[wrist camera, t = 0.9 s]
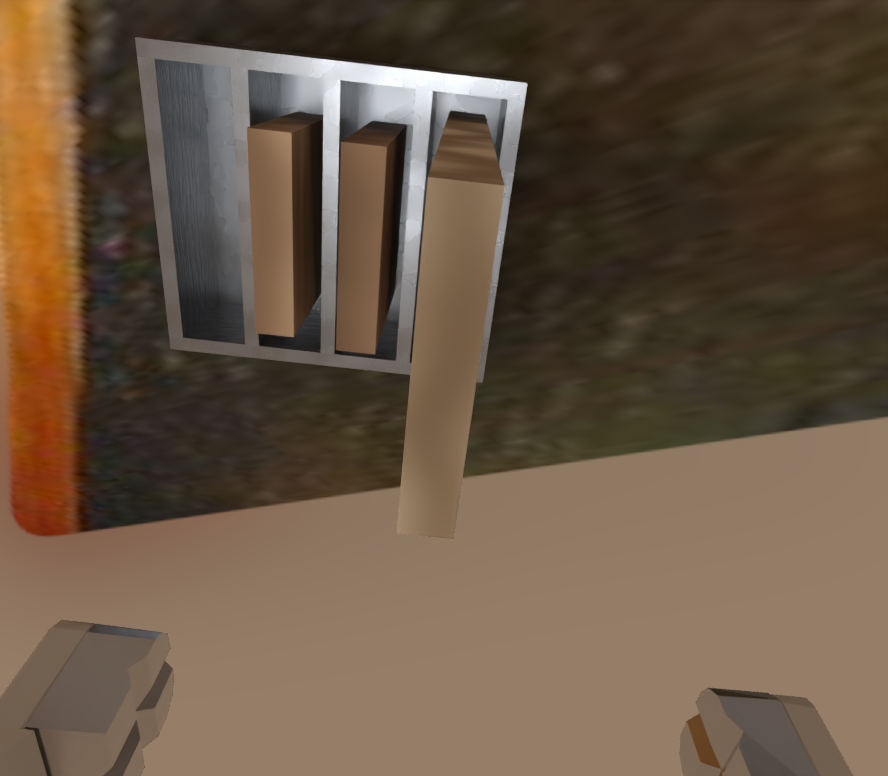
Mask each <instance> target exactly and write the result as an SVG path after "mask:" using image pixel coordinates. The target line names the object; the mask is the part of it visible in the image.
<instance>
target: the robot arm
mask: <svg viewBox="0 0 888 776" xmlns="http://www.w3.org/2000/svg"><path fill="white" fill-rule="evenodd" d="M169 651H170V642H169V636H168V633H162V632H154V631H147V630H140V629H131V628H124V627H116V626H109V625H101V624H94V623H85V622H76V621H67V620H61V621H59V622H58V623H57V624H56V625H54V626H53V627H52V628H51V629H49V630H48V632H47V633H46V635H45V636H44V637H43V639H42V640H41V641H40V643H39V644H38V646H37V647H36V648H35V650H34V651H33V652H32V654H31V655H30V657H29V658H28V659H27V661H26V662H25V664H24V665H23V667H22V668H21V669H20V671H19V672H18V673H17V675H16V676H15V678H14V679H13V680H12V682H11V683H10V684H9V686H8V687H7V689H6V690H5V691H4V693H3V694H2V695H1V697H0V776H141V774H142V772H143V770H144V768H145V765H144V758H143V751H142V749H143V748H144V747H145V746H147V745H148V744H149V743H150V742H152V741H153V740H154V739H155V738H157V737H158V736H159V734H160V731H161V729H162V726H163V724H164V722H165V720H166V717H167V714H168V710H169V707H170V703H171V699H172V695H173V686H174V674H173V668H172V667H170V666H169V664H168V663H167V662H165V659H166V657H167V655H168V653H169ZM696 704H697V707H698V710H699V714H698V715H696V716H694V717H693V718H691V719H689V720H688V721H686V724H685V726H684V729H683V731H682V733H681V738H680V759H681V766H682V771H683V775H684V776H853V774H852V773H851V771H850V769H849V767H848V765H847V764H846V762H845V760H844V758H843V756H842V754H841V753H840V751H839V749H838V747H837V745H836V744H835V742H834V740H833V738H832V737H831V735H830V733H829V731H828V729H827V728H826V726H825V724H824V722H823V720H822V719H821V717H820V715H819V713H818V711H817V710H816V708H815V706H814V705H813V704H812V703H811V702H810V701H809V700H808V699H807V698H802V697H794V696H783V695H770V694H769V693H761V692H750V691H739V690H726V689H715V688H707V689H705V690H704V691H702V692H701V693H700V695H699V697H698V699H697V701H696Z"/></svg>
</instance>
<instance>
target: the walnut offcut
mask: <svg viewBox="0 0 888 776" xmlns="http://www.w3.org/2000/svg"><path fill="white" fill-rule="evenodd" d="M406 131H407V125H406V124H398V123H389V122H380V121H371V122H369V123H368V124H367V125H365V126H364V127H362V128H361V129H359V130H358V131H356V132H355V133H353V134H352V135H350V136H349V137H347V138H346V139H344V140H343V141H341V160H340V202H339V245H338V287H337V330H336V350H339V351H348V352H357V353H366V354H375V353H376V350H377V347H378V344H379V340H380V337H381V334H382V331H383V328H384V325H385V321H386V318H387V315H388V312H389V309H390V305H391V302H392V299H393V296H394V293H395V289H396V275H397V260H398V246H399V231H400V217H401V203H402V188H403V174H404V160H405V145H406Z"/></svg>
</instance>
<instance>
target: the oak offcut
mask: <svg viewBox="0 0 888 776" xmlns="http://www.w3.org/2000/svg"><path fill="white" fill-rule="evenodd" d="M247 144H248V167H249V191H250V214H251V237H252V260H253V284H254V307H255V330H256V333H259V334H268V335H277V336H287V337H294V336H295V335H296V333H297V331H298V330H299V328H300V327H301V325H302V323H303V322H304V320H305V319H306V317H307V315H308V314H309V312H310V310H311V309H312V307H313V306H314V304H315V302H316V301H317V299H318V298H319V296H320V294H321V280H322V187H323V115H320V114H311V113H302V112H294V113H291V114H288V115H285V116H282V117H278V118H275V119H272V120H269V121H266V122H263V123H260V124H257V125H254V126H251V127H248V128H247Z"/></svg>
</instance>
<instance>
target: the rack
mask: <svg viewBox="0 0 888 776" xmlns="http://www.w3.org/2000/svg"><path fill="white" fill-rule="evenodd" d="M135 41H136V50H137V58H138V67H139V76H140V85H141V93H142V102H143V111H144V120H145V128H146V137H147V146H148V155H149V163H150V172H151V181H152V190H153V198H154V207H155V216H156V225H157V233H158V242H159V251H160V259H161V268H162V277H163V286H164V294H165V303H166V312H167V321H168V329H169V338H170V347H171V349H177V350H186V351H195V352H204V353H214V354H223V355H232V356H241V357H251V358H260V359H269V360H278V361H288V362H297V363H306V364H315V365H325V366H334V367H343V368H352V369H362V370H371V371H380V372H389V373H399V374H408V375H411V363H412V352H413V340H414V329H415V318H416V306H417V295H418V283H419V272H420V260H421V249H422V238H423V226H424V215H425V203H426V192H427V181H428V175H429V172H430V169H431V166H432V163H433V160H434V157H435V154H436V151H437V148H438V145H439V142H440V139H441V136H442V133H443V130H444V127H445V125H446V122H447V119H448V116H449V113H450V111H459V112H468V113H476V114H485V116H486V120H487V123H488V127H489V130H490V134H491V138H492V141H493V145H494V149H495V152H496V156H497V159H498V163H499V167H500V170H501V174H502V178H503V181H504V185H505V187H504V194H503V201H502V208H501V215H500V222H499V229H498V236H497V243H496V250H495V257H494V263H493V270H492V277H491V284H490V291H489V298H488V305H487V312H486V319H485V326H484V333H483V340H482V346H481V353H480V360H479V367H478V374H477V381H476V382H482V383H483V377H484V370H485V363H486V357H487V350H488V343H489V337H490V330H491V323H492V317H493V310H494V303H495V297H496V290H497V283H498V277H499V270H500V263H501V257H502V250H503V243H504V237H505V230H506V223H507V217H508V210H509V203H510V197H511V190H512V183H513V177H514V170H515V163H516V157H517V150H518V143H519V137H520V130H521V123H522V117H523V110H524V103H525V97H526V90H527V83H526V82H524V81H522V80H520V79H518V78H513V77H504V76H496V75H487V74H478V73H470V72H461V71H453V70H444V69H436V68H427V67H419V66H410V65H402V64H393V63H384V62H376V61H367V60H359V59H350V58H342V57H333V56H325V55H316V54H307V53H299V52H290V51H282V50H273V49H265V48H256V47H248V46H239V45H230V44H222V43H213V42H205V41H195V40H177V39H159V38H140V37H135ZM294 112H302V113H311V114H320V115H323V187H322V280H321V294H320V296H319V298H318V299H317V301H316V302H315V304H314V306H313V307H312V309H311V310H310V312H309V314H308V315H307V317H306V319H305V320H304V322H303V323H302V325H301V327H300V328H299V330H298V331H297V333H296V335H295V336H294V337H287V336H277V335H268V334H259V333H256V330H255V307H254V284H253V260H252V237H251V214H250V191H249V167H248V144H247V128H248V127H251V126H254V125H257V124H260V123H263V122H266V121H269V120H272V119H275V118H278V117H282V116H285V115H288V114H291V113H294ZM371 121H380V122H389V123H398V124H406V125H407V131H406V145H405V160H404V174H403V188H402V203H401V217H400V231H399V246H398V260H397V275H396V289H395V293H394V296H393V299H392V302H391V305H390V309H389V312H388V315H387V318H386V321H385V325H384V328H383V331H382V334H381V337H380V340H379V344H378V347H377V350H376V353H375V354H366V353H357V352H348V351H339V350H336V330H337V287H338V245H339V202H340V160H341V141H343V140H344V139H346V138H347V137H349V136H350V135H352V134H353V133H355V132H356V131H358V130H359V129H361V128H362V127H364V126H365V125H367V124H368V123H369V122H371Z"/></svg>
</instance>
